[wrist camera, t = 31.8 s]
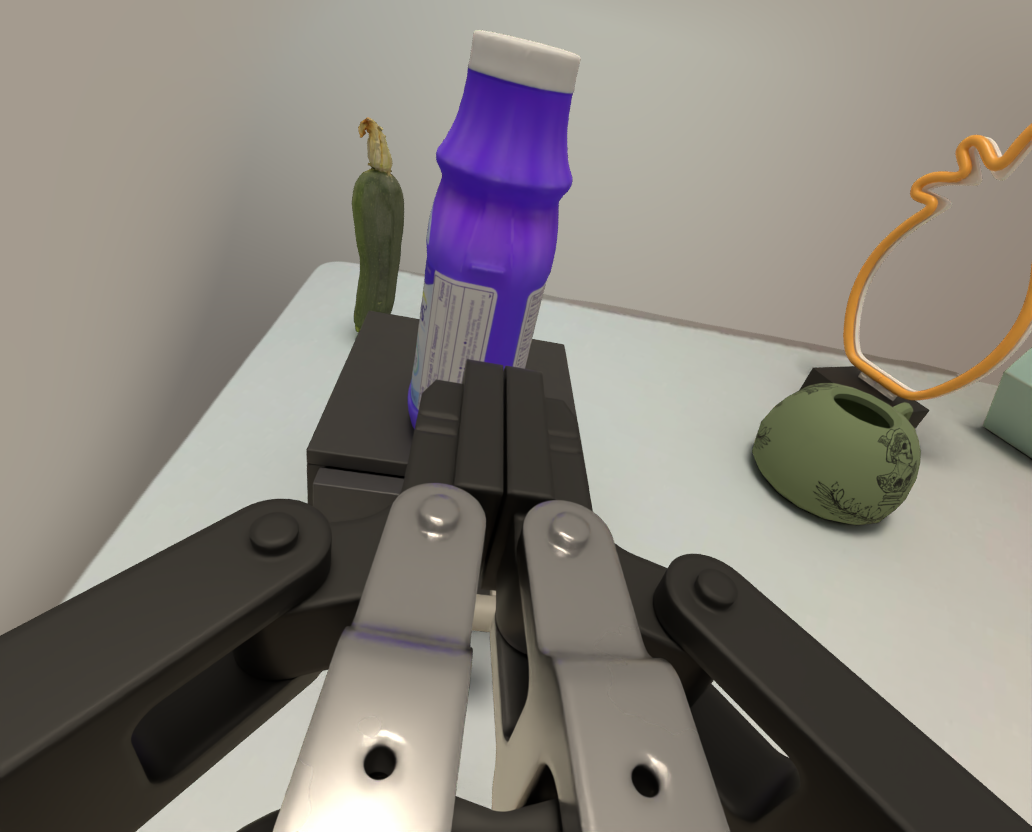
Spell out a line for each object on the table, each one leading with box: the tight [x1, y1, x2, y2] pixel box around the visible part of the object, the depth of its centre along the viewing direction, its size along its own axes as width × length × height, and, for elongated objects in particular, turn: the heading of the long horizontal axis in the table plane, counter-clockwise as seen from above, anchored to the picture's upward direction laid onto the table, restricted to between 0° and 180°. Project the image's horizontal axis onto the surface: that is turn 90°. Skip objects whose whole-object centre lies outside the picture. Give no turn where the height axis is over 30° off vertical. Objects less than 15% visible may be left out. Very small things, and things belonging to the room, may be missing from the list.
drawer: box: [313, 468, 496, 632], centre depth 33 cm, size 18×13×9 cm
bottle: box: [408, 30, 580, 430], centre depth 25 cm, size 7×6×17 cm
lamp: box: [800, 123, 1032, 428], centre depth 54 cm, size 17×9×32 cm, turn 21°
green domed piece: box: [752, 383, 921, 525], centre depth 49 cm, size 16×13×9 cm
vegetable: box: [352, 118, 404, 332], centre depth 49 cm, size 4×4×20 cm
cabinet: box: [307, 311, 589, 506], centre depth 36 cm, size 15×14×11 cm
